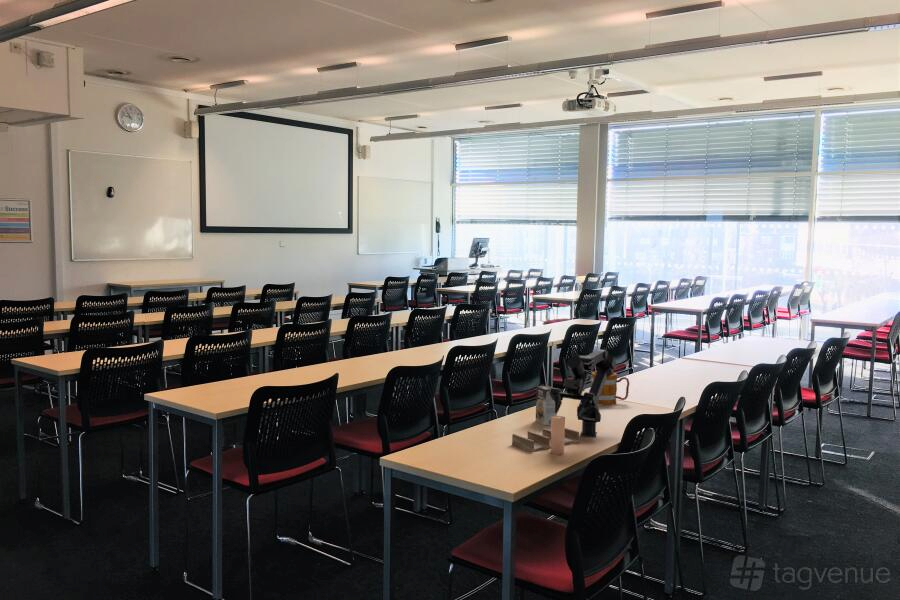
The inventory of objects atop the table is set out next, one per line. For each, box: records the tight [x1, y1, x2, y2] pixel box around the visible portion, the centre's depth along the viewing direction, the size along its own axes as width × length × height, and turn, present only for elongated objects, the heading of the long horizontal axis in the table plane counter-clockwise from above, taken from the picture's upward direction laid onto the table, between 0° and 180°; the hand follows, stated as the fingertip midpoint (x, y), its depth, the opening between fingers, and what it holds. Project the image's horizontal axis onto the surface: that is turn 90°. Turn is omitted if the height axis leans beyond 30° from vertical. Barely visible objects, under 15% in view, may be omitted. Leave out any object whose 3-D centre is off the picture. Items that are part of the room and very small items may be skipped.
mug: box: [590, 370, 630, 406], centre depth 374 cm, size 20×14×15 cm
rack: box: [511, 427, 580, 452], centre depth 298 cm, size 26×12×4 cm, turn 126°
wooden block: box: [550, 415, 566, 455], centre depth 284 cm, size 5×5×14 cm
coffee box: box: [535, 385, 558, 426], centre depth 331 cm, size 9×6×16 cm
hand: (566, 414), depth 291 cm, fingers open, 9 cm apart
